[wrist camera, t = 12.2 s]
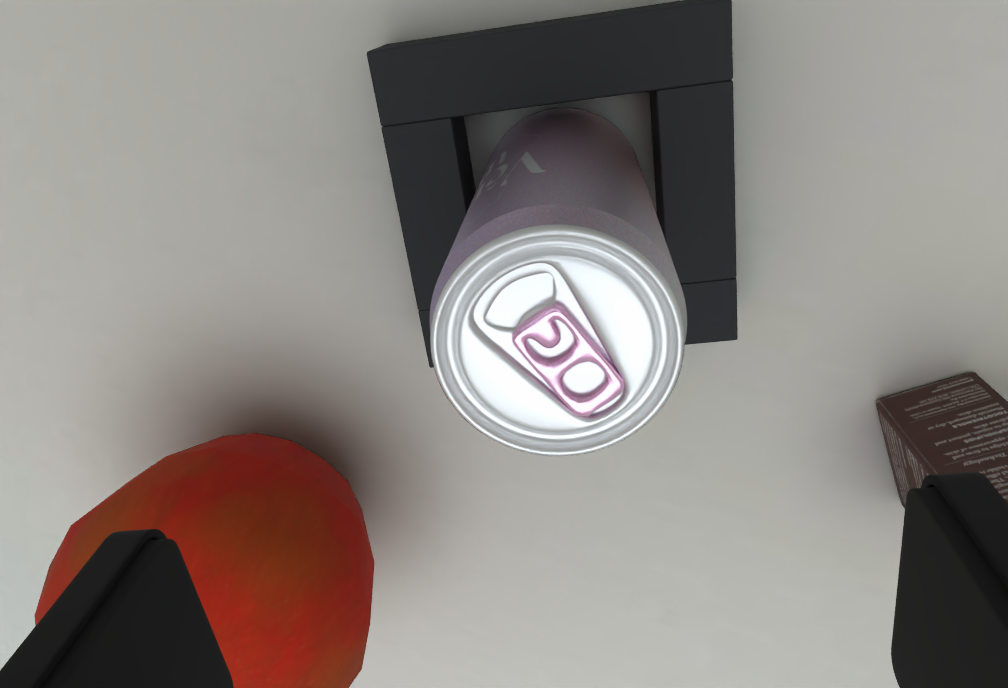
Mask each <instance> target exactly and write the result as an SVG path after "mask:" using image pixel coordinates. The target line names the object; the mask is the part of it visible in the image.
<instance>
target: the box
mask: <svg viewBox="0 0 1008 688" xmlns="http://www.w3.org/2000/svg"><path fill="white" fill-rule="evenodd" d="M876 405H877V409H878V414H879V418H880V422H881V426H882V431H883V434H884V438H885V442H886V447H887V451H888V455H889V458H890V462H891V466H892V470H893V474H894V478H895V481H896V485H897V489H898V493H899V496H900V499H901V503H902V505H903V506H904V508H905V506H906V498H907V493H908V491H909V490H910V489H912V488H921V485H922V481H923V479H924V478H925V477H926V476H928V475H935V474H950V473H964V472H979V473H982V474H983V475H984V476H985V477H987V478H988V480H989V481H990V482H991V483H992V485H993V486H994V487H995V488H996V489H997V491H998V492H999V493H1000V494H1001V496H1002V497H1003V498H1004V499H1005V501H1006V502H1007V503H1008V402H1007V401H1006V400H1005V399H1004V398H1003V397H1002V396H1001V395H999V394H998V393H997V392H996V391H995V390H994V389H992V388H991V387H990V385H988V384H987V383H986V382H985V381H984V380H983V379H981V378H980V377H979V376H978V375H977V374H976V373H969V374H966V375H961V376H957V377H953V378H950V379H947V380H943V381H940V382H936V383H933V384H929V385H925V386H921V387H919V388H916V389H912V390H908V391H904V392H902V393H900V394H896V395H892V396H890V397H887V398H884V399H881V400H878V401H877V403H876Z"/></svg>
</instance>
